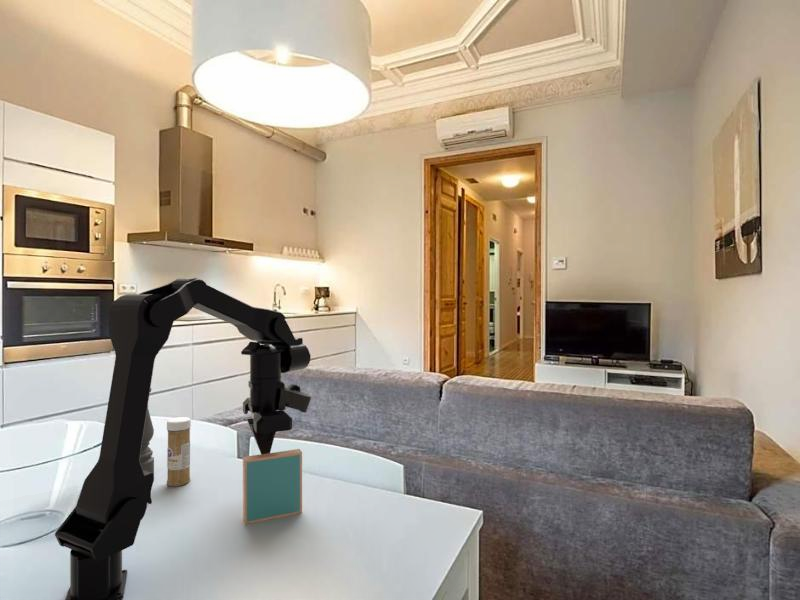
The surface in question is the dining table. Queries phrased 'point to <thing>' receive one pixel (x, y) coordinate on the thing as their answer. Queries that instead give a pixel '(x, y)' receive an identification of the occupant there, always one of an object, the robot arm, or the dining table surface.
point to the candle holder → (146, 452)
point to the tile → (272, 485)
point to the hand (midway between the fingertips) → (265, 457)
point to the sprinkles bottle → (178, 451)
